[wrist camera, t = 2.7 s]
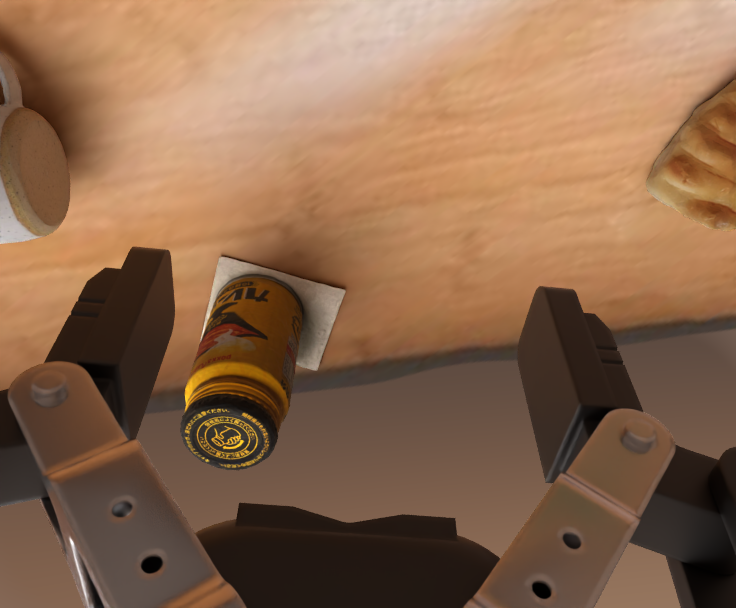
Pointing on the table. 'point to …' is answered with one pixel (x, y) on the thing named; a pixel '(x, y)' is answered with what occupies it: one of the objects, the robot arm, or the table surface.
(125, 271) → the robot arm
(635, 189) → the table surface
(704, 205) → the pastry
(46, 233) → the ceramic mug
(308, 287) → the condiment
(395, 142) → the table surface
